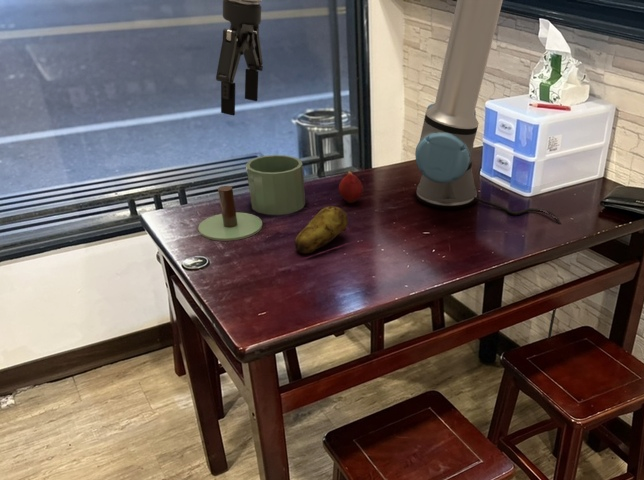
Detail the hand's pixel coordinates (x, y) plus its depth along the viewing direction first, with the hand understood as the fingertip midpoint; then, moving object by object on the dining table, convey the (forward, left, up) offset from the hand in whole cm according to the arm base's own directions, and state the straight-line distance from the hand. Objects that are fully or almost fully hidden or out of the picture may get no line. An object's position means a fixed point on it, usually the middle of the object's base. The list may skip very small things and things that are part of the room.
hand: (240, 106), depth 135 cm
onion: (-14, -19, -23) cm, 33 cm away
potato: (-29, 0, -23) cm, 37 cm away
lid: (-10, +11, -23) cm, 27 cm away
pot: (-5, -4, -23) cm, 24 cm away
